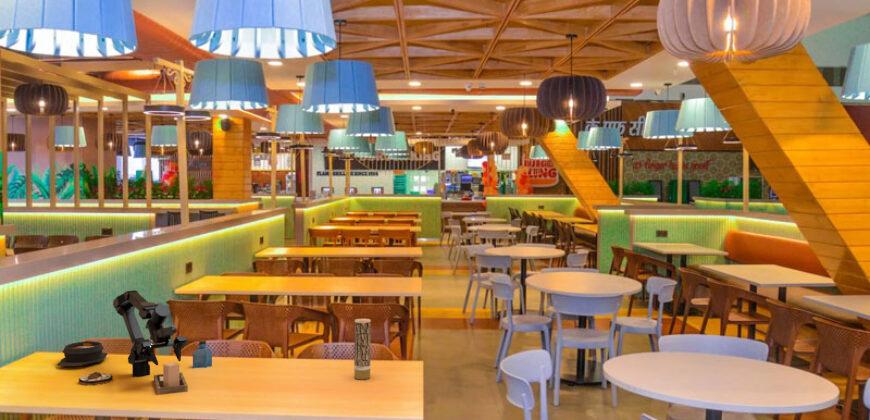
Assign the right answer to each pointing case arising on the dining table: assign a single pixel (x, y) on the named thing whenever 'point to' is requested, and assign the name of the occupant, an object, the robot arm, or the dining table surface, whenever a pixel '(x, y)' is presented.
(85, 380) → the sushi roll
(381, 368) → the dining table surface
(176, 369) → the clay blank
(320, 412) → the dining table surface
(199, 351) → the perfume bottle
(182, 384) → the rack
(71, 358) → the casserole
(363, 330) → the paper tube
